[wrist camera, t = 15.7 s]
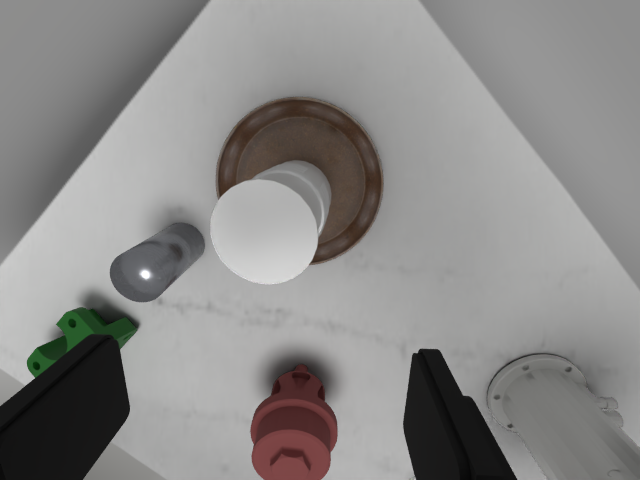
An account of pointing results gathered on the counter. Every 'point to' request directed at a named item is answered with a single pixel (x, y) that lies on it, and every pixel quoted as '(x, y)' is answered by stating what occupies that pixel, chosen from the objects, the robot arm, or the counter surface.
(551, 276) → the counter surface
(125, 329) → the clamp
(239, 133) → the plant saucer
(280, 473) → the mechanical component
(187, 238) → the metal pillar
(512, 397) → the robot arm
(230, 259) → the white ribbed cylinder
